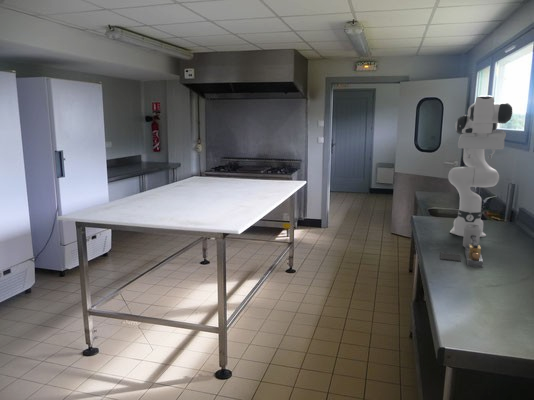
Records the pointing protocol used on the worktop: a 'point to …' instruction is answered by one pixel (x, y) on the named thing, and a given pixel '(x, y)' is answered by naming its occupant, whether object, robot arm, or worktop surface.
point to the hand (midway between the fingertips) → (479, 158)
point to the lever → (474, 241)
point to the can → (469, 231)
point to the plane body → (473, 258)
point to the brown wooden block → (474, 250)
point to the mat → (450, 257)
